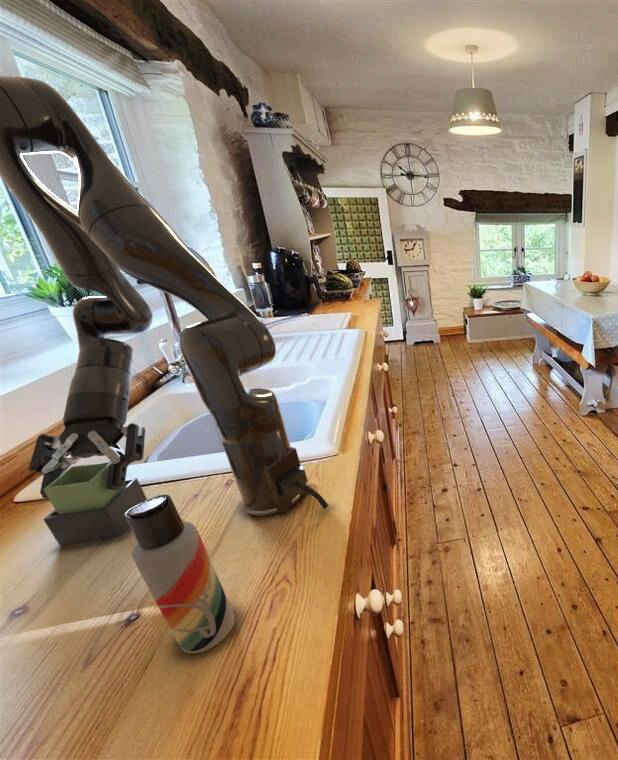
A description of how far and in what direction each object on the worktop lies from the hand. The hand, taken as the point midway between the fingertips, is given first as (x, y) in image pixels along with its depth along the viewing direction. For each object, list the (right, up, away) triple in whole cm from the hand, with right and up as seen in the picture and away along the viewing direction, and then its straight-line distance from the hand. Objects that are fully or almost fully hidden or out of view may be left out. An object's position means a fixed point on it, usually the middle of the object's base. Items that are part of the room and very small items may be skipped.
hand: (82, 493), depth 64 cm
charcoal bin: (0, -7, +4) cm, 8 cm away
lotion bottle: (+30, -13, -14) cm, 36 cm away
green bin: (0, -6, +4) cm, 7 cm away
